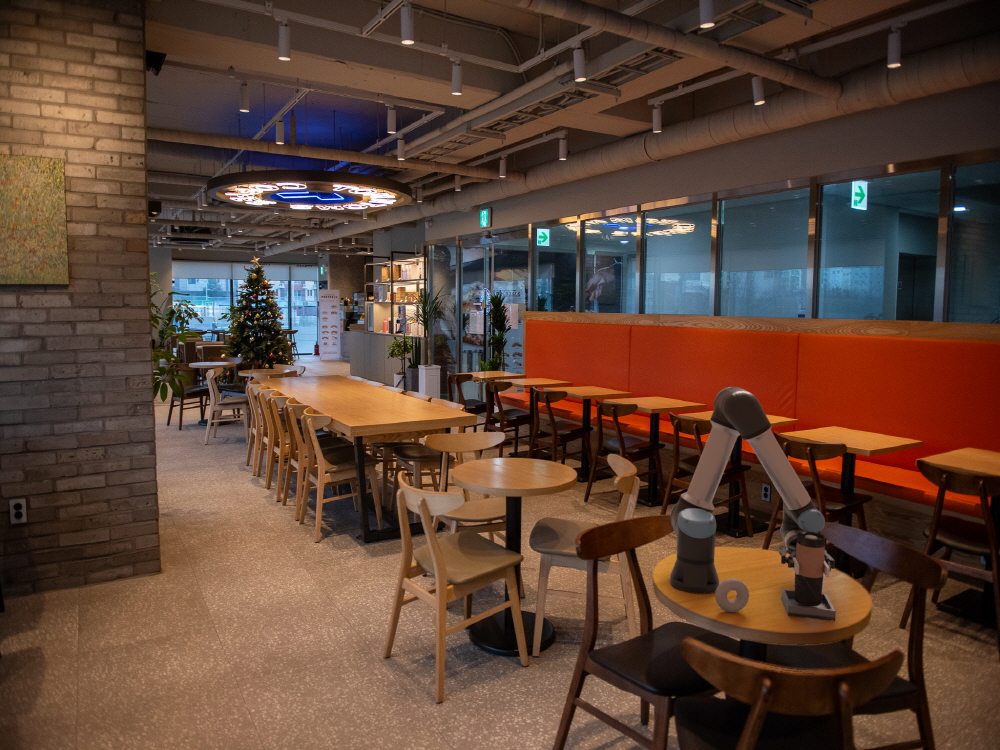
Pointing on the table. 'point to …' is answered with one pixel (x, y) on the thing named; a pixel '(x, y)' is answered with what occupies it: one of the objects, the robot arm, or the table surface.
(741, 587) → the donut
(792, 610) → the tray
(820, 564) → the travel mug
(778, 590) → the table surface
